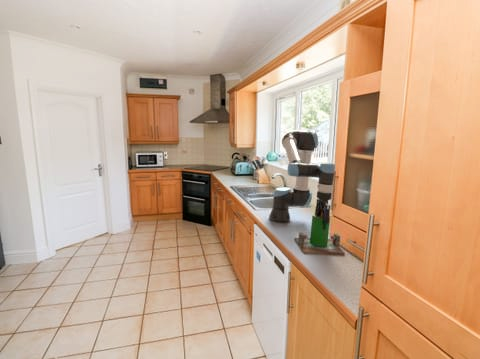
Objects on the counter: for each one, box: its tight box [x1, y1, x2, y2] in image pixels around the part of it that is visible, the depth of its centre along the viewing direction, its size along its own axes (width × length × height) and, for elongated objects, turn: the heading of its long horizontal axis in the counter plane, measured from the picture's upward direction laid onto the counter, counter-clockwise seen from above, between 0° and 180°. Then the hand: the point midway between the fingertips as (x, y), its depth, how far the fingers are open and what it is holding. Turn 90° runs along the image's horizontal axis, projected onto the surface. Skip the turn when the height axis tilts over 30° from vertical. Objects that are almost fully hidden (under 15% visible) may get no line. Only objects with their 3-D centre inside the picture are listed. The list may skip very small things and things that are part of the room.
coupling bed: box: [294, 232, 346, 256], centre depth 144 cm, size 18×22×8 cm
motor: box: [309, 213, 331, 246], centre depth 142 cm, size 10×9×20 cm
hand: (319, 231), depth 143 cm, fingers open, 7 cm apart
